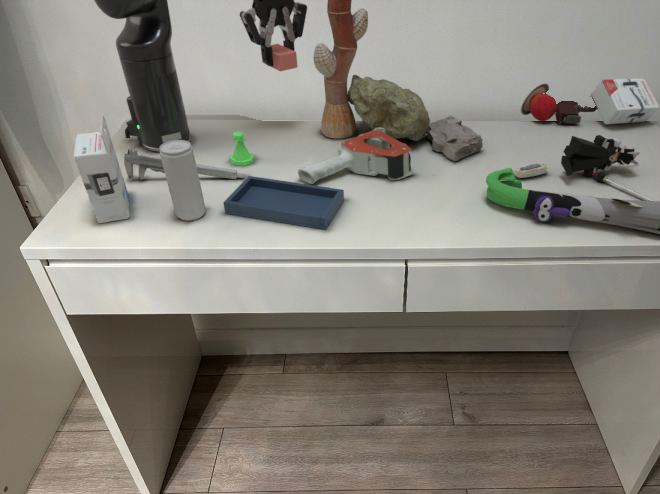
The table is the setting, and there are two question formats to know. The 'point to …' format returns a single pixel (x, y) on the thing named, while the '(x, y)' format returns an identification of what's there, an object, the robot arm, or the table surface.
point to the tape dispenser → (365, 158)
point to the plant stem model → (339, 66)
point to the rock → (389, 107)
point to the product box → (102, 175)
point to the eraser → (283, 58)
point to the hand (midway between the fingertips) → (279, 62)
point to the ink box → (624, 100)
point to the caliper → (156, 165)
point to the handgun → (570, 112)
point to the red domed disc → (539, 103)
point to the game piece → (241, 151)
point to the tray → (285, 202)
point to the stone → (453, 138)
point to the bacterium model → (530, 170)
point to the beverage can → (182, 179)
